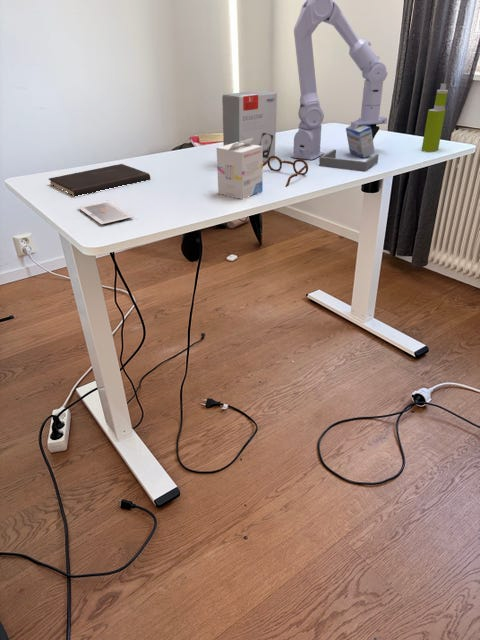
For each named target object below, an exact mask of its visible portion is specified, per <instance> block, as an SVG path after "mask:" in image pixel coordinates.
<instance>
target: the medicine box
mask: <svg viewBox="0 0 480 640" xmlns="http://www.w3.org/2000/svg"><path fill="white" fill-rule="evenodd" d="M345 132H346V138H347V143H348V144H347V145H348V149H349V153H350V154H351V155H354V156H357V157H360V158H363V159H365V158H367V157H369V156H370V155H371V156H372V155H373V154H374V153H375V145H374V139H373V138H372V131H371V127H369V126H365V125H360V126H358V127H357V129H352V128H351V125H349V126H347V127H346V128H345Z"/></svg>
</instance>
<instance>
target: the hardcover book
mask: <svg viewBox="0 0 480 640" xmlns="http://www.w3.org/2000/svg"><path fill="white" fill-rule="evenodd" d="M146 180H148V181H151V180H152V179H151V174H150V173H149V172H146V171H142V170H141V169H137V168H135V167H132V166H129V165H126V164H124V163H119V164H113V165H109V166H105V167H104V166H103V167H100V168H94V169H89V170H83V171H79V172H74V173H70V174H65V175H64V174H63V175H59V176H55V177H54V176H53V177H48V181H50V185H51V184H52V185H54V186H56V187H58V188H60V189H63V190H64V191H67V192H68V193H70V194H72V195H74V196H78V195H82V194H87V193H92V192H96V191H100V190H105V189H109V188H113V189H115V188H114V187H118V186H122V185H126V186H128V185H127V184H131V185H133V184H132V183H135V184H138V183H137V182H139V183H142V182H141V181H144V182H147V181H146ZM52 185H51V186H52ZM54 186H53V187H54ZM56 187H55V188H56ZM122 187H123V186H122ZM58 188H57V189H58ZM118 188H119V187H118ZM60 189H59V190H60ZM109 190H110V189H109ZM64 191H63V192H64ZM105 191H106V190H105ZM100 192H101V191H100ZM68 193H67V194H68ZM96 193H97V192H96ZM70 194H69V195H70ZM92 194H93V193H92ZM72 195H71V196H72ZM87 195H88V194H87ZM74 196H73V197H74Z"/></svg>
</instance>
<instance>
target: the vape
mask: <svg viewBox="0 0 480 640" xmlns="http://www.w3.org/2000/svg"><path fill="white" fill-rule="evenodd" d="M448 93H449V90H448V89H447V83H440V87H439V89H437V90H436V96H435V101H434V106H433V108H430V109H428V110H427V117H426V122H425V129H424V134H423V139H422V145H421V152H424V151H425V152H424V153H432V151H433V152H437V151H436V150H438V151H439V147H440V142H441V136H442V130H443V126H444V121H445V116H446V110H447V109H445V108H446V103H447V96H448Z"/></svg>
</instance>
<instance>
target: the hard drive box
mask: <svg viewBox="0 0 480 640" xmlns="http://www.w3.org/2000/svg"><path fill="white" fill-rule="evenodd" d="M221 97H222V99H221V100H222V136H223V139H222V140H223V141H222V142H223V145H222V146H225V145H228V144H232V143H236V142H240V141H244V140H247V139H250V138H254V139H253V140H252V141H251V143H250V144H252V145H259V146H263V163H264V162H266V161H267V160H268V158H269V157H270V156H276V134H277V133H276V130H277V128H276V127H277V102H278V99H277V97H278V92H274V91H269V90H268V91H267V90H254V91H245V92H233V93H228V94H227V93H225V94H222V96H221ZM243 143H245V142H243ZM275 160H276V159H275V158H271V159H270V162H271V161H272V162H273V161H275Z"/></svg>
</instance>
